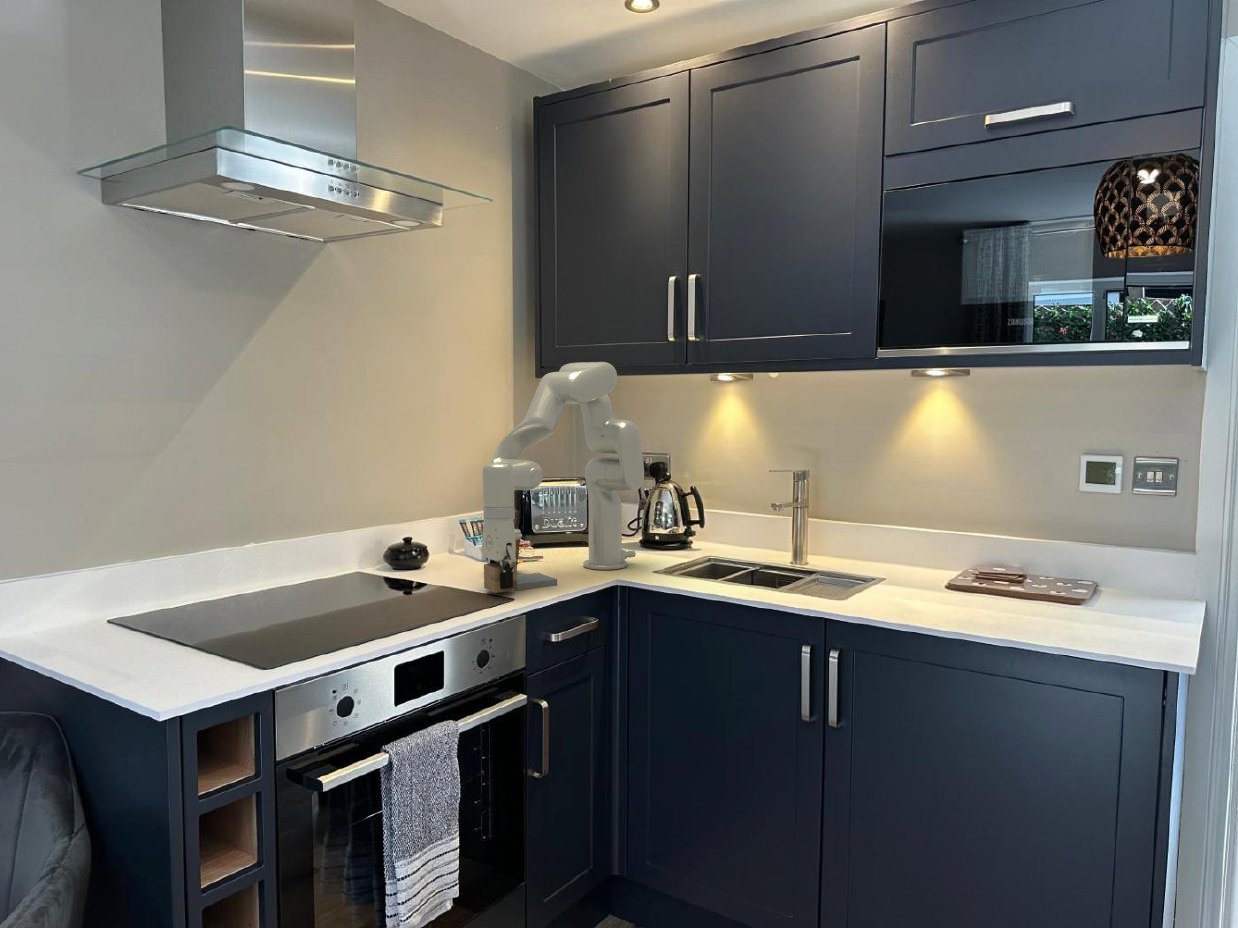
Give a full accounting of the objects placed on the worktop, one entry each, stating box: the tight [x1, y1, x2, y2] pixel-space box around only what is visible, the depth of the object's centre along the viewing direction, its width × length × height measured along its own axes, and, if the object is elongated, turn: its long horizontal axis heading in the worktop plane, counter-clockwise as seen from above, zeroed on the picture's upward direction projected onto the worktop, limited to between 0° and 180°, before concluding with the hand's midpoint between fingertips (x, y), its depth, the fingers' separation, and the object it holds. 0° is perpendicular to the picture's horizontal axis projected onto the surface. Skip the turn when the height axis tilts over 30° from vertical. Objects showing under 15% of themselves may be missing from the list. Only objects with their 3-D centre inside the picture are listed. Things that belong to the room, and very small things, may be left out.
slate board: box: [516, 572, 558, 591], centre depth 216 cm, size 12×10×2 cm
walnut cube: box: [483, 562, 518, 594], centre depth 205 cm, size 6×6×6 cm
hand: (500, 585), depth 206 cm, fingers closed on walnut cube, 6 cm apart
